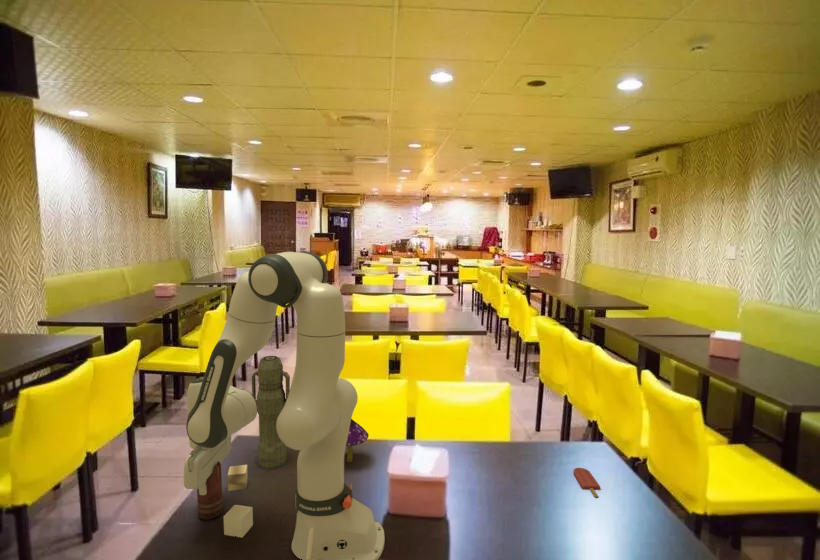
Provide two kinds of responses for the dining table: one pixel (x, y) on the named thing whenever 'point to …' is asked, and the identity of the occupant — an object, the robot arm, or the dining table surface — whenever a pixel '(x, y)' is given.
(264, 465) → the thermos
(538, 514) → the dining table surface
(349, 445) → the decorative mushroom
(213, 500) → the can
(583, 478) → the popsicle
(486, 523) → the dining table surface
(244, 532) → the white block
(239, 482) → the maple block
